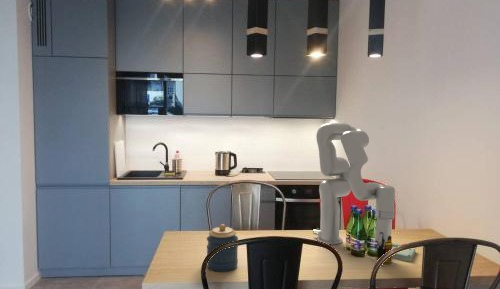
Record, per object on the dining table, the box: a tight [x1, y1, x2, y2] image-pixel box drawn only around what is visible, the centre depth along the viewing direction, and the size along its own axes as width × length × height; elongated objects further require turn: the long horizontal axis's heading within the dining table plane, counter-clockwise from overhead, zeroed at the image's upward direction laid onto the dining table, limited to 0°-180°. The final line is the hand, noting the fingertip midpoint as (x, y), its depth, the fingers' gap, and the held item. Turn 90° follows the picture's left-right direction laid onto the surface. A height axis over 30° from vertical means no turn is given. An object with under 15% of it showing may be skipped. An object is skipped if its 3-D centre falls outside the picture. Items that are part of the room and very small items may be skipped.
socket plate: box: [392, 242, 416, 262], centre depth 162 cm, size 14×14×3 cm
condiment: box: [370, 235, 396, 267], centre depth 151 cm, size 7×8×12 cm
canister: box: [206, 223, 239, 273], centre depth 145 cm, size 13×13×18 cm
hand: (383, 254), depth 152 cm, fingers open, 7 cm apart
